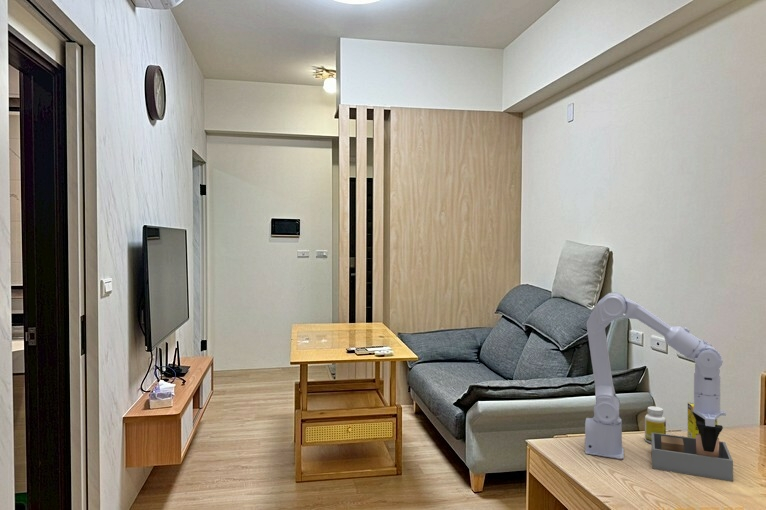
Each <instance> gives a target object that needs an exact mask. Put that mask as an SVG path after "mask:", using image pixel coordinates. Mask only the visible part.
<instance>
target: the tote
mask: <svg viewBox="0 0 766 510" xmlns="http://www.w3.org/2000/svg"><path fill="white" fill-rule="evenodd" d="M661 436H667V437H675V438H682V439H683V444H684V453H681V452H674V451H667V450H661ZM651 439H652V444H651V463H652V465H651V466H652V467H651V468H652V469H653V470H659V471H664V470H665V472H670V471H672V472H673V473H677V472H678V473H677V474H684V475H691V476H695V477H704V478H708V477H710V478H709V479H715V480H722V481H728V482H734V460H733V458H732V455H731V453H730V450H729V449H728V445H727V444H726V442H725V441H720V440H719V458H716V457H709V456H702V455H696V438H691V437H688V436H684V435H683V436H681V435H675V434H674V435H673V434H667V433H666V434H660V433H652V432H651ZM672 472H671V473H672Z"/></svg>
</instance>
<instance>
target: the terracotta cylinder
mask: <svg viewBox="0 0 766 510" xmlns="http://www.w3.org/2000/svg"><path fill="white" fill-rule="evenodd" d="M719 441H720V437H718V438H717V441H716V446H715V449H714V452H708V451H704V449H703V446H702V440H701V435H700V434H697V435H696V455H702V456H709V457H716V458H719Z"/></svg>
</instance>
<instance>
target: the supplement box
mask: <svg viewBox="0 0 766 510" xmlns="http://www.w3.org/2000/svg"><path fill="white" fill-rule="evenodd" d="M693 408H694V402H687V437H691V438H696V435H697V434H699V431H698V427H697V425H696V419H695V417H694V415H693V413H692V412H693ZM715 425H718V418H717V419H716V421H715Z"/></svg>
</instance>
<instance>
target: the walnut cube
mask: <svg viewBox="0 0 766 510" xmlns="http://www.w3.org/2000/svg"><path fill="white" fill-rule="evenodd" d="M661 450H667V451H674V452H681V453H684V444H683V439H682V438H675V437H667V436H661Z"/></svg>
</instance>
